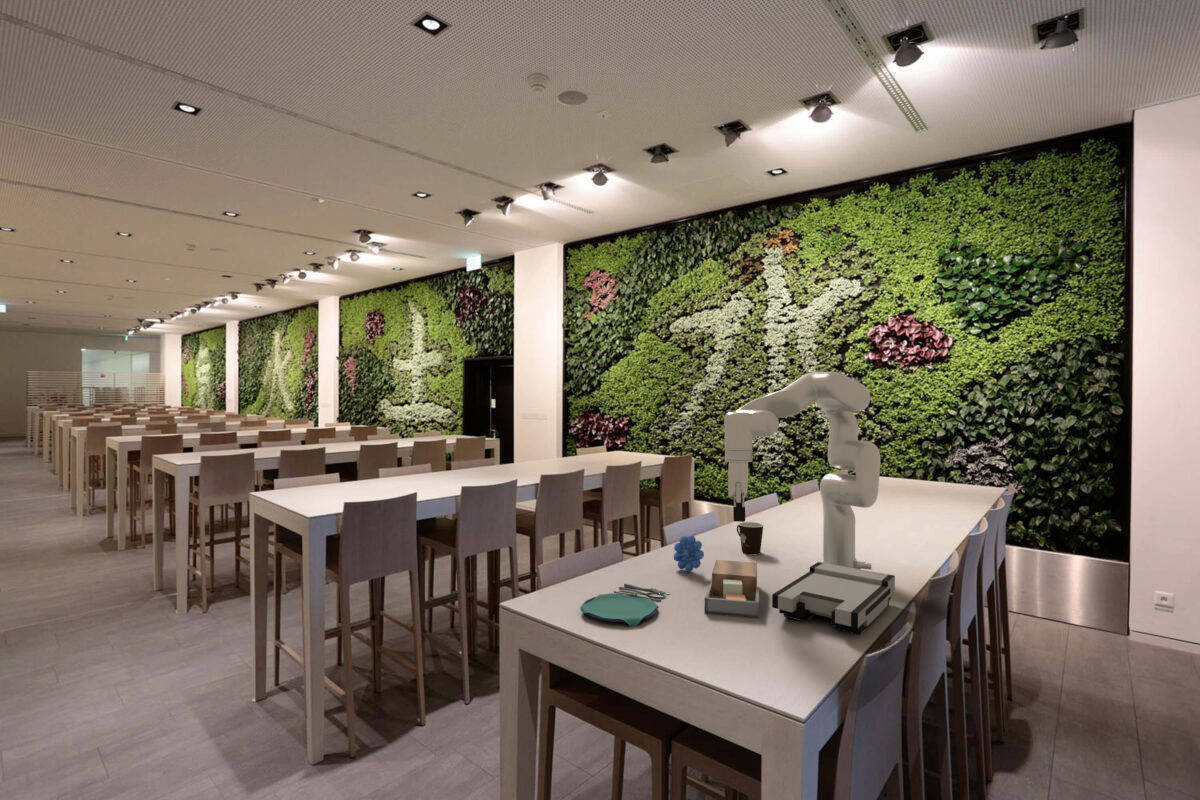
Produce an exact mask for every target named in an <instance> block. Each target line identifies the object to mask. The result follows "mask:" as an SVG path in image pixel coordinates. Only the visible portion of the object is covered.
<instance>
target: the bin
mask: <svg viewBox="0 0 1200 800" xmlns="http://www.w3.org/2000/svg"><path fill="white" fill-rule="evenodd" d="M705 613H706V614H708V615H715V614H716V615H717V616H726V615H728V616H729V617H736V616H737V618H739V617H740V618H749V619H760V618H759V616H760V587H757V588H756V599H748V598H746V601H742V600H731V599H723V596H713V595H712V583H708V585H707V589H706V593H705V597H704V614H705ZM706 614H705V615H706Z"/></svg>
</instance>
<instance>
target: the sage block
mask: <svg viewBox="0 0 1200 800" xmlns="http://www.w3.org/2000/svg"><path fill="white" fill-rule="evenodd" d="M726 594H736V595H742V580H729V579H723V599H726Z"/></svg>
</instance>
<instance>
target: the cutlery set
mask: <svg viewBox="0 0 1200 800" xmlns="http://www.w3.org/2000/svg"><path fill="white" fill-rule="evenodd" d="M638 589H639V590H640V591H639V590H638ZM618 590H620V591H616V590H614V591H613V593H610V592H609V593H603V594H601V593H600V594H598V595H597V596H594V597H592V598H591V597H590V598H588V599H586V601H584V602H583V603H582V605H580V607H579V608H580V611H581V613H582V614H583V615H584V616H587V615H588V616H590V617H591V618H594V619H597V620H601V621H605V622H611V623H612V622H613V623H626V624H628V626H630V627H636V626H637V625H639V624H640V623H641V621H644V620H647V619H650V618H651V617H653V616H655V615H656V613H657V612H658V609H659V607H660V606H659V605H658V604H657V603H656V602H661V601H662V599H663V598H664V599H665V597H666V596H669V595H670V594H666V593H667V592H666V591H662V590H658V589H656V588H653V587H651V588H645V587H640V586H636V585H632V584H628V583H624V584H623V586H619V587H618ZM621 591H628V592H632V593H628V592H621ZM644 591H645V592H644ZM646 591H648V592H646ZM665 592H666V593H665ZM659 593H660V594H659ZM638 594H641V595H638ZM651 594H657V595H656V596H653V595H651ZM664 594H666V595H664ZM642 595H645V596H642ZM660 595H661V596H660ZM662 596H663V597H662ZM652 597H653V598H652Z"/></svg>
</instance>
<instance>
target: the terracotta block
mask: <svg viewBox="0 0 1200 800" xmlns="http://www.w3.org/2000/svg"><path fill="white" fill-rule="evenodd" d="M726 599H731V600H742V601H746V598H745V595H736V594H726Z"/></svg>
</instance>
